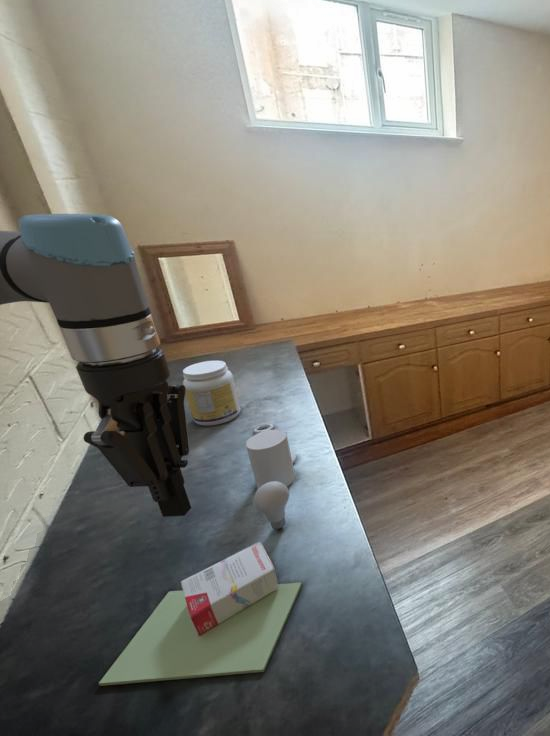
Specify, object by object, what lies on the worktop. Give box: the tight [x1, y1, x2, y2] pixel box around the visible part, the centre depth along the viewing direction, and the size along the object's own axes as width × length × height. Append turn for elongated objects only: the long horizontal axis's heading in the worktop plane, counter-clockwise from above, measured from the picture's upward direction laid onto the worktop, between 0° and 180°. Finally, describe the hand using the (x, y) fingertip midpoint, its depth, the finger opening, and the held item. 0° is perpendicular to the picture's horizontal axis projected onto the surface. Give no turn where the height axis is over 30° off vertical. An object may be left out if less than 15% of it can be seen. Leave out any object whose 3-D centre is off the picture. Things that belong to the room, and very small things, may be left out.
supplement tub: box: [182, 360, 242, 427], centre depth 120 cm, size 12×12×17 cm
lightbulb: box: [253, 481, 290, 530], centre depth 81 cm, size 6×6×11 cm
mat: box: [98, 582, 303, 687], centre depth 63 cm, size 22×14×1 cm, turn 95°
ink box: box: [180, 541, 279, 636], centre depth 67 cm, size 9×5×12 cm
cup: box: [245, 429, 296, 490], centre depth 94 cm, size 8×8×12 cm
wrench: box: [253, 423, 297, 464], centre depth 109 cm, size 25×2×5 cm
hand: (177, 512), depth 55 cm, fingers closed
